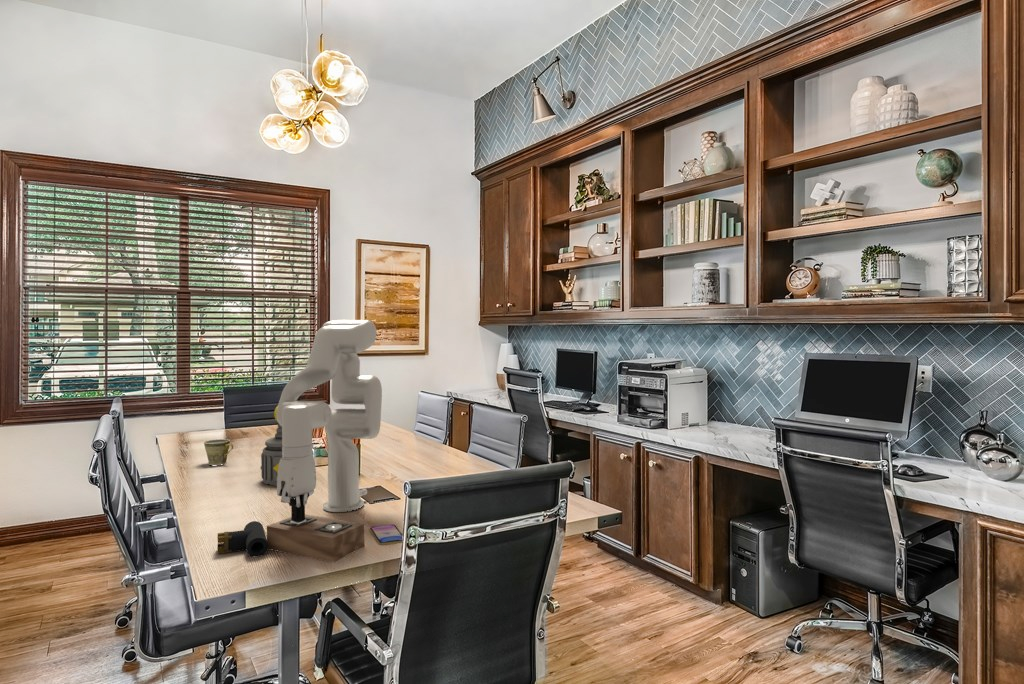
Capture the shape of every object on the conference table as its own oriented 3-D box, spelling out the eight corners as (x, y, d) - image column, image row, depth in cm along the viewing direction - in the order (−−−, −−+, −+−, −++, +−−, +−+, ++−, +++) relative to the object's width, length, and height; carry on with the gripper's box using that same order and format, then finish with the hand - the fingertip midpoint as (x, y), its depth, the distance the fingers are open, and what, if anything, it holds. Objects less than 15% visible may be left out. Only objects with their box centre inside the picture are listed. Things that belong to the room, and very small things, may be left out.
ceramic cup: (198, 466, 256) (198, 442, 256) (216, 461, 266) (216, 438, 266) (224, 468, 253) (223, 444, 252) (241, 463, 262) (241, 440, 262)
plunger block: (300, 534, 171) (300, 512, 170) (364, 546, 161) (364, 522, 161) (267, 548, 160) (266, 524, 160) (333, 562, 150) (332, 536, 150)
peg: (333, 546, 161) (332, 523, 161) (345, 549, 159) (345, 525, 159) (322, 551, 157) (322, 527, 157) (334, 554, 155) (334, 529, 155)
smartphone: (394, 526, 179) (394, 522, 179) (407, 543, 165) (407, 539, 165) (368, 530, 176) (368, 526, 176) (379, 547, 162) (379, 543, 162)
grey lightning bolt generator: (306, 486, 224) (305, 404, 223) (253, 487, 223) (252, 404, 222) (319, 473, 243) (318, 398, 242) (270, 474, 241) (269, 398, 241)
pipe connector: (218, 542, 151) (217, 524, 164) (218, 563, 151) (217, 544, 164) (268, 536, 156) (263, 519, 169) (268, 556, 156) (263, 538, 169)
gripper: (307, 445, 171) (307, 511, 171) (264, 455, 157) (265, 526, 158) (328, 447, 168) (328, 514, 168) (286, 458, 154) (287, 530, 155)
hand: (298, 520), depth 163 cm, fingers closed
